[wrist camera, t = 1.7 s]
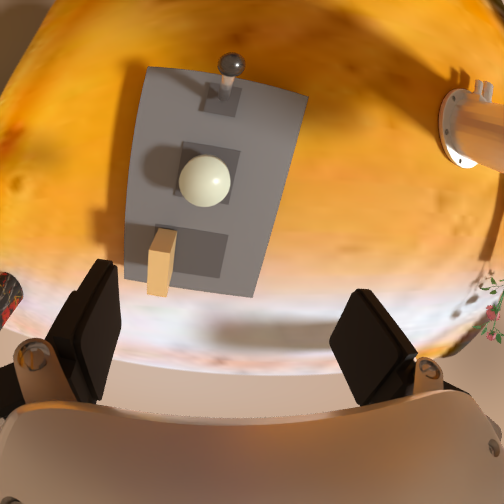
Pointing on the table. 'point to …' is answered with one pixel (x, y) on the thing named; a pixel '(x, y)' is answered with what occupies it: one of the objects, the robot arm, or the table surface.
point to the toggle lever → (229, 73)
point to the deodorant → (8, 296)
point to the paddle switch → (161, 262)
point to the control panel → (237, 161)
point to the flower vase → (492, 315)
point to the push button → (204, 180)
